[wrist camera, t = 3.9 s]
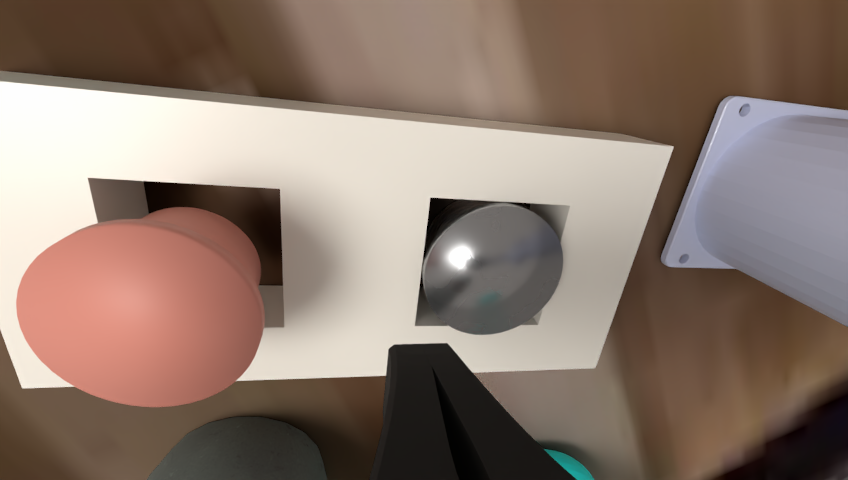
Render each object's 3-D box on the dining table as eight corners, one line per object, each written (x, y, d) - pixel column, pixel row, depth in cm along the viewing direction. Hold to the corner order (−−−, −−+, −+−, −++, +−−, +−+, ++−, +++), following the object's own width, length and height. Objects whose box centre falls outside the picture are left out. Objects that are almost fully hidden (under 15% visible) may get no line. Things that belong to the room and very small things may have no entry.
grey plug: (540, 186, 16) (579, 211, 14) (515, 293, 18) (544, 334, 16) (418, 178, 15) (433, 203, 13) (406, 292, 17) (417, 335, 15)
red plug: (277, 192, 12) (255, 231, 9) (282, 334, 14) (265, 402, 11) (78, 181, 11) (-17, 221, 8) (115, 336, 13) (49, 412, 10)
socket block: (621, 133, 17) (673, 146, 14) (563, 328, 20) (595, 368, 18) (3, 70, 12) (-96, 72, 10) (77, 334, 16) (22, 388, 13)
